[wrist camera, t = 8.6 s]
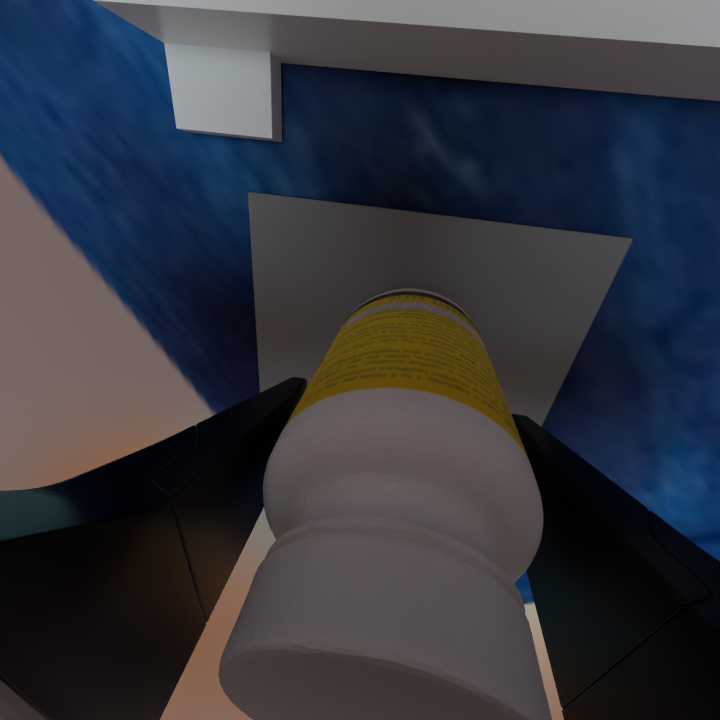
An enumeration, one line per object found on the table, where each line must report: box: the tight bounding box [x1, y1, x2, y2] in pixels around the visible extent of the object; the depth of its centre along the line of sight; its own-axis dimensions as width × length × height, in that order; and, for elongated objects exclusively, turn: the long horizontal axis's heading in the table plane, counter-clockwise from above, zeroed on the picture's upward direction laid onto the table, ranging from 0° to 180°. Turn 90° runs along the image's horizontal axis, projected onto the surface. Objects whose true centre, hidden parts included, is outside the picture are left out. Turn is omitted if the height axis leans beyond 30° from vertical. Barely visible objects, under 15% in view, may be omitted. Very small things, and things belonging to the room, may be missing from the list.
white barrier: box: [93, 0, 720, 142], centre depth 7 cm, size 20×5×3 cm, turn 85°
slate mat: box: [248, 192, 633, 426], centre depth 12 cm, size 12×10×1 cm
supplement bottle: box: [219, 288, 552, 720], centre depth 8 cm, size 5×5×10 cm
